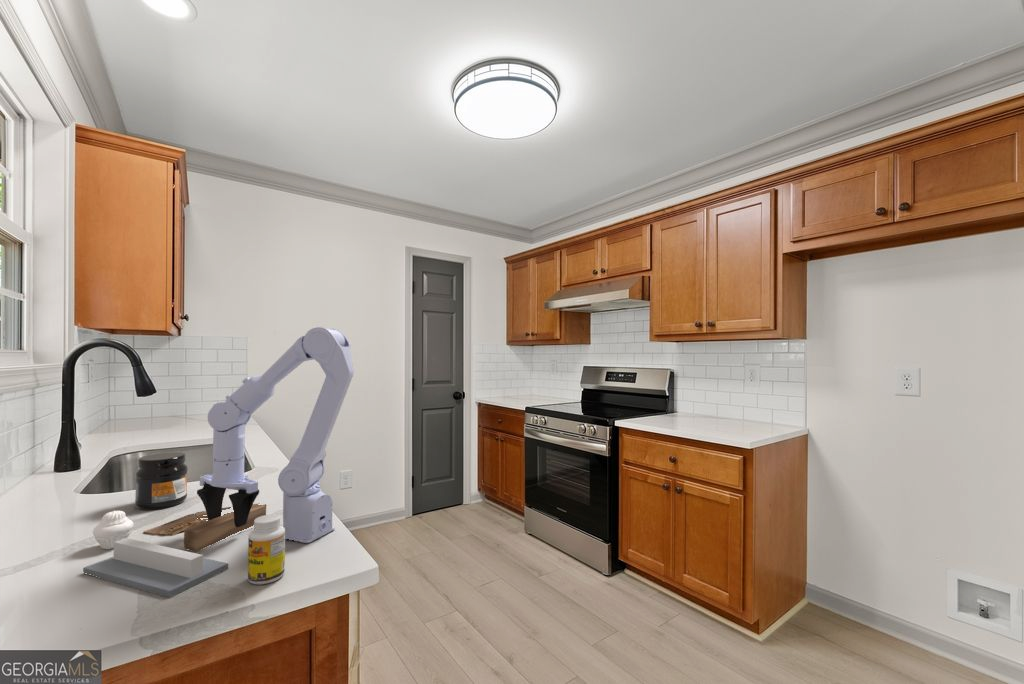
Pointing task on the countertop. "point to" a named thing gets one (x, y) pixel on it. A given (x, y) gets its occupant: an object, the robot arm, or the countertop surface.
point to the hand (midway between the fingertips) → (227, 522)
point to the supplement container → (161, 480)
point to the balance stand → (155, 567)
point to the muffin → (112, 529)
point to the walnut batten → (218, 529)
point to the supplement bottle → (266, 550)
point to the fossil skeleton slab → (179, 524)
